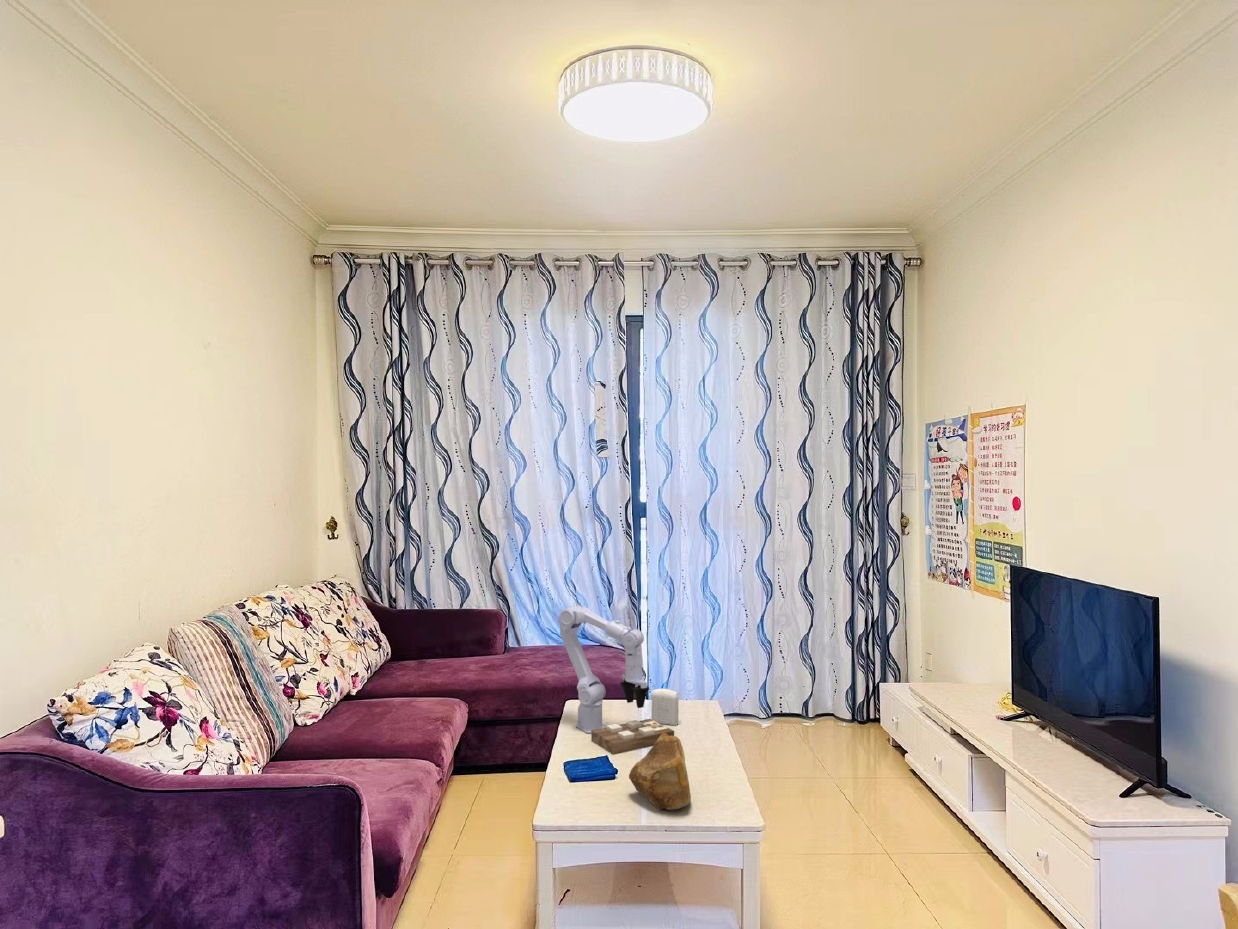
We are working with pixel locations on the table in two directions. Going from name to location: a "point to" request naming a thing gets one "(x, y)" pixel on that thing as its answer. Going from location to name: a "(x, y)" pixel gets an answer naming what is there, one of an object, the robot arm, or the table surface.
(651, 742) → the button board
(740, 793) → the table surface
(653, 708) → the photo printer
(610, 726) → the button
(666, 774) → the rough brown rock
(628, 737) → the button
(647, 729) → the button
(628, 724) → the button
